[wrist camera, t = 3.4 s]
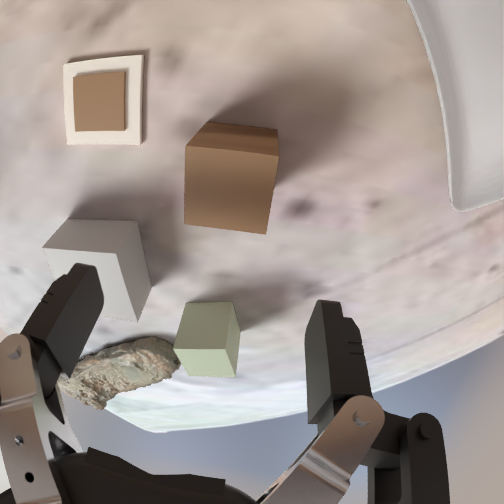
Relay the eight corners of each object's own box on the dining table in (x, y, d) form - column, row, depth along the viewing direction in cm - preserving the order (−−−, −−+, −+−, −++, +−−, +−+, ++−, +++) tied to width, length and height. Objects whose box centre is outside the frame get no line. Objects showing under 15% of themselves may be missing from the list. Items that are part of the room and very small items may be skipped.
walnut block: (207, 121, 20) (185, 145, 15) (277, 129, 20) (279, 156, 15) (203, 183, 23) (184, 224, 18) (267, 191, 23) (265, 234, 18)
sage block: (185, 302, 31) (172, 348, 27) (232, 300, 31) (225, 349, 26) (198, 332, 34) (188, 375, 30) (240, 331, 34) (235, 376, 29)
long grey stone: (202, 354, 40) (148, 309, 36) (196, 385, 35) (135, 341, 31) (88, 397, 52) (51, 370, 48) (81, 417, 48) (42, 390, 44)
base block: (68, 217, 26) (41, 247, 22) (138, 219, 26) (115, 253, 22) (89, 278, 31) (70, 310, 27) (152, 285, 30) (137, 322, 26)
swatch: (66, 63, 17) (61, 64, 16) (144, 54, 17) (140, 55, 16) (69, 142, 21) (65, 145, 20) (142, 143, 21) (138, 146, 21)
